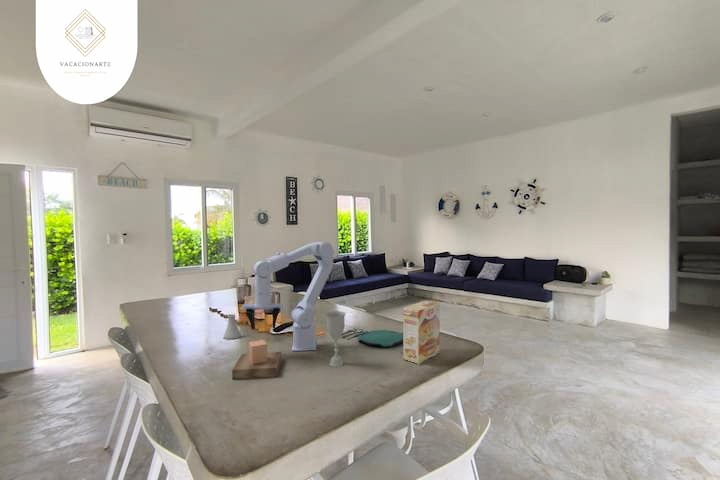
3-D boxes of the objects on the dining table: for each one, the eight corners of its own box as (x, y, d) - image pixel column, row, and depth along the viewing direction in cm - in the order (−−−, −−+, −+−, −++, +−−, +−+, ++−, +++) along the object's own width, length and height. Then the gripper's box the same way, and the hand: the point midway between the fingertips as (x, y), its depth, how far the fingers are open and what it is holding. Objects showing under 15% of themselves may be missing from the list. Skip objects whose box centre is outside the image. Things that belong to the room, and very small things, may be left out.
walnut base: (281, 360, 127) (281, 352, 127) (276, 376, 113) (276, 367, 113) (242, 362, 126) (242, 354, 126) (232, 379, 112) (232, 370, 112)
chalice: (330, 369, 119) (329, 317, 118) (323, 362, 125) (322, 312, 124) (349, 364, 122) (349, 314, 121) (341, 358, 128) (341, 310, 127)
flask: (235, 340, 150) (234, 317, 150) (220, 339, 152) (219, 316, 151) (243, 335, 157) (243, 313, 157) (229, 334, 159) (228, 312, 158)
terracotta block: (263, 356, 123) (263, 339, 123) (267, 361, 119) (266, 343, 119) (249, 359, 121) (248, 342, 120) (252, 364, 116) (252, 346, 116)
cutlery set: (389, 352, 134) (389, 346, 134) (331, 339, 152) (331, 334, 152) (414, 339, 149) (414, 334, 149) (359, 328, 168) (358, 324, 168)
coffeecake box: (419, 365, 121) (418, 310, 120) (402, 360, 126) (402, 307, 125) (440, 353, 132) (440, 302, 131) (424, 348, 137) (424, 300, 136)
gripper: (283, 290, 136) (284, 324, 137) (245, 291, 135) (246, 325, 135) (281, 293, 129) (282, 329, 130) (241, 295, 128) (242, 331, 128)
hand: (263, 328), depth 132 cm, fingers open, 7 cm apart
